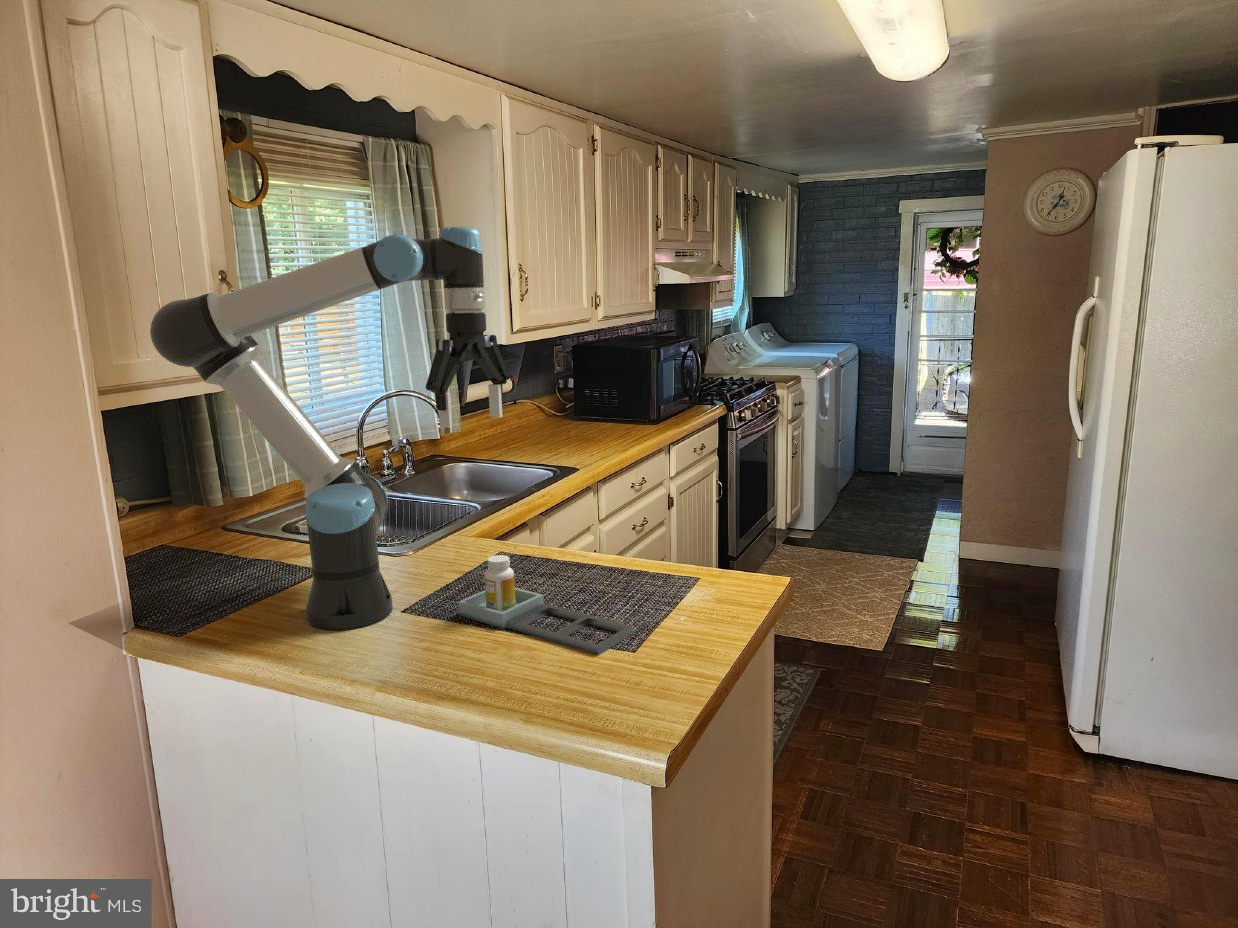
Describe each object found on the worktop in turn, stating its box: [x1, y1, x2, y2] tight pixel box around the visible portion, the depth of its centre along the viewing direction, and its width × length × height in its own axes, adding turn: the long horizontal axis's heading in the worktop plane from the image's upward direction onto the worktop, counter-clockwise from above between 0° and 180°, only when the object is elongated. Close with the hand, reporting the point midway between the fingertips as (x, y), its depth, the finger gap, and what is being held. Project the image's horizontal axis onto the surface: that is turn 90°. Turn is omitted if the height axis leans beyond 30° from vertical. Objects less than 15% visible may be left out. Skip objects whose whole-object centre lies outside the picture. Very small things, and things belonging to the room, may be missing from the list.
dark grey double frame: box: [506, 603, 634, 655], centre depth 147 cm, size 10×20×1 cm, turn 55°
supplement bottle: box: [484, 554, 516, 612], centre depth 155 cm, size 5×5×10 cm
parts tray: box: [457, 587, 545, 629], centre depth 156 cm, size 11×11×3 cm
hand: (472, 422), depth 165 cm, fingers open, 13 cm apart
